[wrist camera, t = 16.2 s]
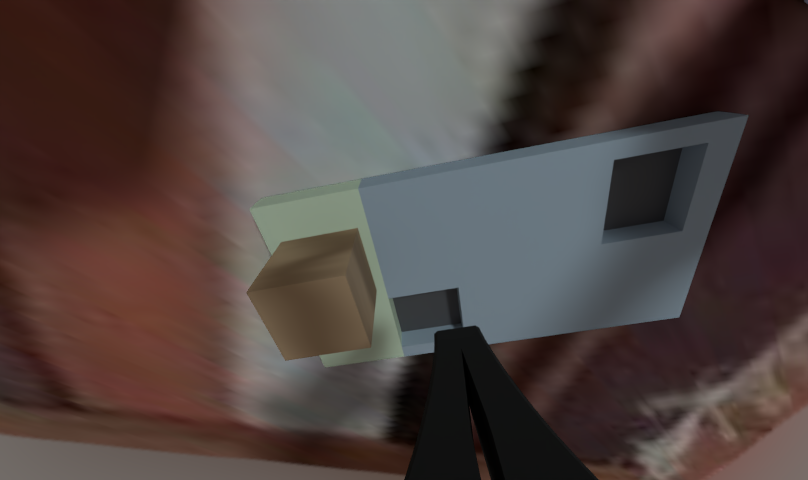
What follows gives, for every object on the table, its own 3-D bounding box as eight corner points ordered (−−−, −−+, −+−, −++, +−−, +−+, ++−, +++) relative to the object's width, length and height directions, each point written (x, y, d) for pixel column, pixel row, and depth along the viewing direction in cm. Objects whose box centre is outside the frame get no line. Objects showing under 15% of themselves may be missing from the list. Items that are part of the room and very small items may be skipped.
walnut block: (357, 227, 17) (345, 275, 13) (376, 290, 19) (371, 347, 15) (281, 242, 17) (246, 292, 13) (308, 301, 19) (285, 360, 15)
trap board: (717, 111, 16) (748, 115, 14) (661, 301, 22) (679, 317, 20) (261, 198, 18) (249, 209, 16) (329, 350, 24) (325, 367, 22)
